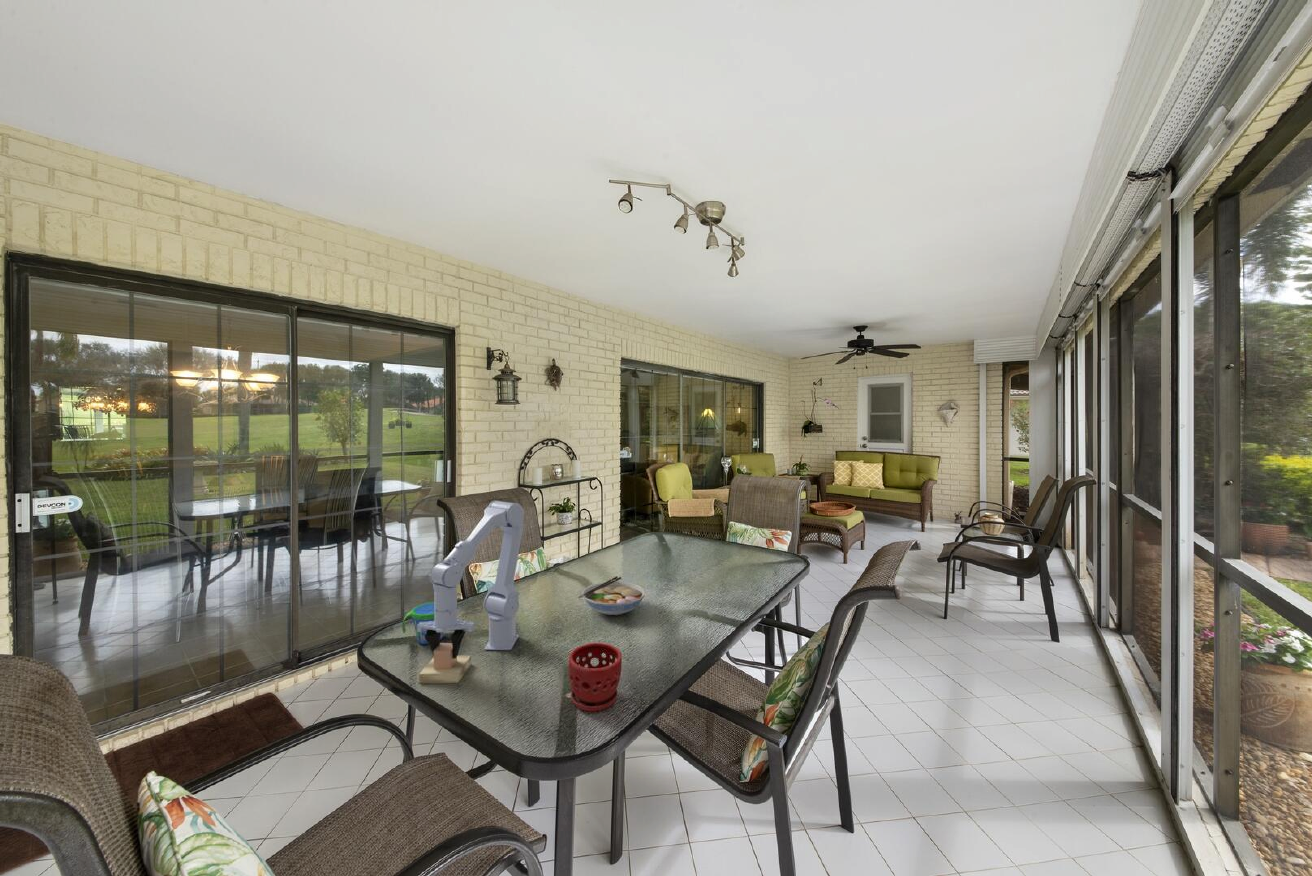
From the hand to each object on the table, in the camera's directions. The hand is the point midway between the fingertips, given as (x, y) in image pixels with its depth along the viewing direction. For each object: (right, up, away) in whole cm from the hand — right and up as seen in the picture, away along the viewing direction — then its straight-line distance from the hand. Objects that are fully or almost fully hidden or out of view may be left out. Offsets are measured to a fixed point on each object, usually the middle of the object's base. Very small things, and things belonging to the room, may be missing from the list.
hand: (446, 656), depth 134 cm
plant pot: (+42, -6, -12) cm, 44 cm away
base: (0, -5, 0) cm, 5 cm away
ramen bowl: (+42, -4, +44) cm, 61 cm away
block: (0, -2, 0) cm, 2 cm away
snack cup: (-13, -4, +20) cm, 24 cm away
